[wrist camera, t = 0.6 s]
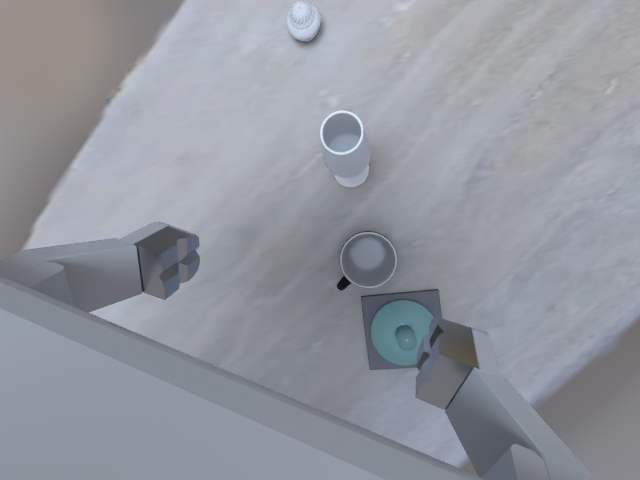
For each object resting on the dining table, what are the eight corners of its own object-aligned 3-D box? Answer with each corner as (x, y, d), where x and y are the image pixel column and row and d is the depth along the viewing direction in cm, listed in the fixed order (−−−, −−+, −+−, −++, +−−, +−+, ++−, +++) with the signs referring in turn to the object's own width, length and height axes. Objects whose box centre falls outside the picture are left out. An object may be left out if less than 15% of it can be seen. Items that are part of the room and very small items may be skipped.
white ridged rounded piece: (323, 13, 56) (317, -16, 49) (323, 48, 56) (318, 24, 50) (290, 17, 57) (280, -11, 50) (291, 51, 57) (281, 28, 50)
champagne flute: (334, 150, 57) (312, 101, 34) (370, 151, 56) (374, 101, 33) (332, 186, 58) (309, 163, 34) (368, 188, 57) (370, 164, 33)
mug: (365, 219, 57) (366, 219, 47) (402, 251, 57) (410, 258, 47) (323, 266, 59) (315, 275, 49) (358, 298, 58) (357, 314, 48)
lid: (440, 360, 56) (448, 374, 51) (374, 364, 58) (375, 378, 53) (433, 296, 56) (440, 303, 51) (367, 302, 57) (367, 310, 52)
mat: (445, 363, 57) (447, 365, 56) (369, 367, 59) (370, 369, 58) (437, 289, 56) (438, 290, 55) (361, 296, 58) (361, 297, 58)
